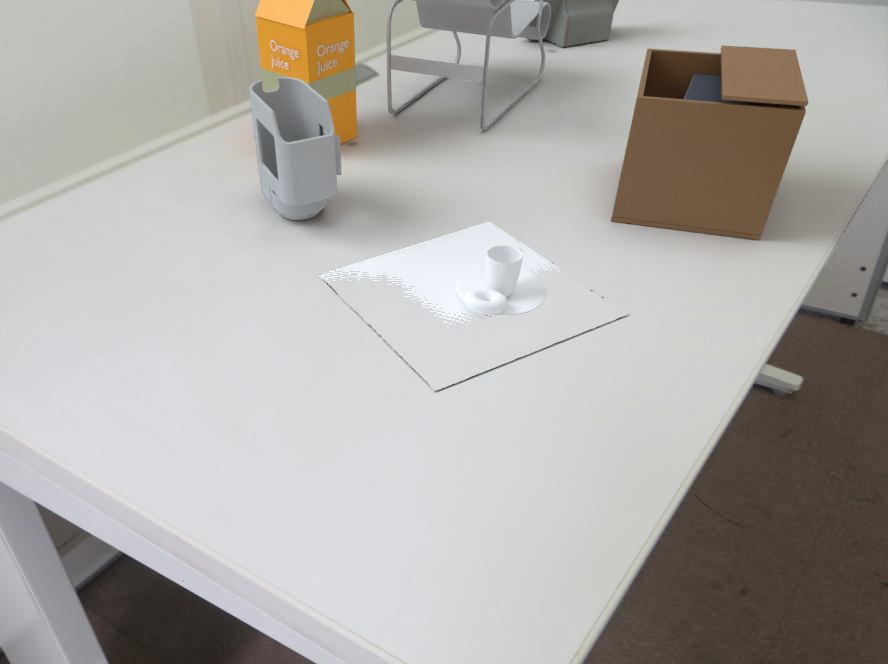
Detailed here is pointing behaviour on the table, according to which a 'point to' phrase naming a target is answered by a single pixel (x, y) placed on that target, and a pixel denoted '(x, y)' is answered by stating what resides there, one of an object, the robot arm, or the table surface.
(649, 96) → the carton
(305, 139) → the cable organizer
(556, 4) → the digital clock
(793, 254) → the table surface
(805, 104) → the flap
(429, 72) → the chair
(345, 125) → the orange juice
